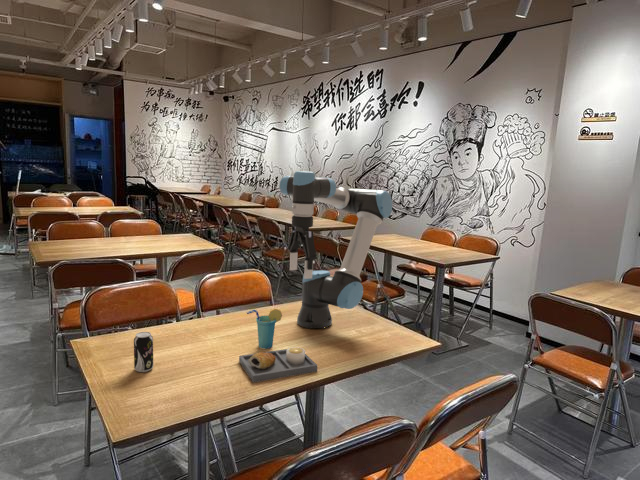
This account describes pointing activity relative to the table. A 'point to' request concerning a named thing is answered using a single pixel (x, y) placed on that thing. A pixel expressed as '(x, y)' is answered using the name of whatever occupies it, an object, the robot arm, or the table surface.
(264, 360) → the pastry
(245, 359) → the serving board
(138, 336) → the beverage can
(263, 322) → the cup
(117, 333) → the table surface
